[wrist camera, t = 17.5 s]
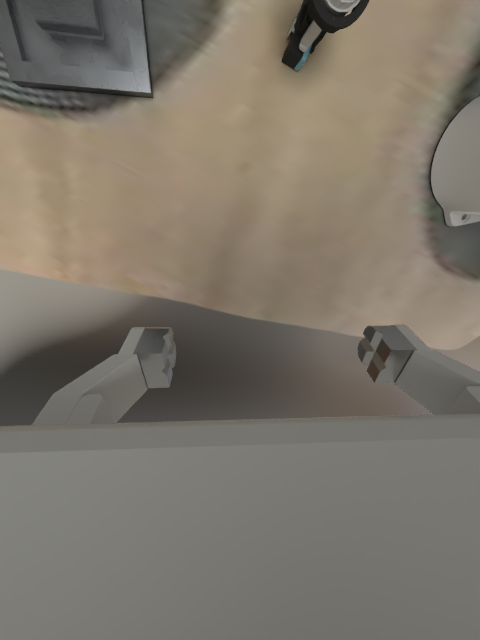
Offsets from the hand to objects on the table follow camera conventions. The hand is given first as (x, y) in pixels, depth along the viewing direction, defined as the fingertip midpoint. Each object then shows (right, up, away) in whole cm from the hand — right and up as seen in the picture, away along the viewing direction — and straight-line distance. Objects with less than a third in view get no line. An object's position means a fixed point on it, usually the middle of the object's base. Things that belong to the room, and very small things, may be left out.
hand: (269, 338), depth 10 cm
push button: (+6, +32, +16) cm, 36 cm away
